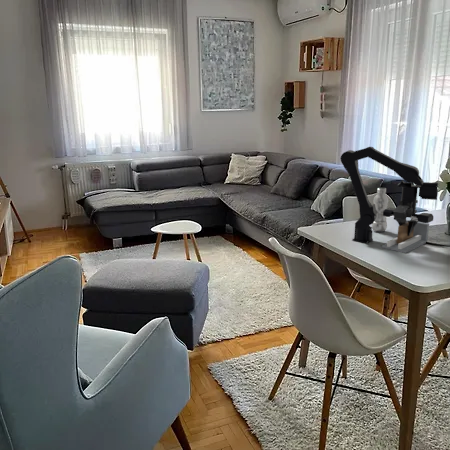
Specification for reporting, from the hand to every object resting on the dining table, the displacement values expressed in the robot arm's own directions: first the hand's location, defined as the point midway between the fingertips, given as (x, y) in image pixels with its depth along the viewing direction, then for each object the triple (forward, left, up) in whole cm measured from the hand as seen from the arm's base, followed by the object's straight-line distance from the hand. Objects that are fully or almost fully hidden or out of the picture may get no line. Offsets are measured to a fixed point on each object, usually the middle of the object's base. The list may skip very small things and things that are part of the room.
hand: (405, 235), depth 182 cm
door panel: (0, 0, -2) cm, 2 cm away
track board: (0, 0, -4) cm, 4 cm away
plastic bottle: (-18, +12, -4) cm, 22 cm away
